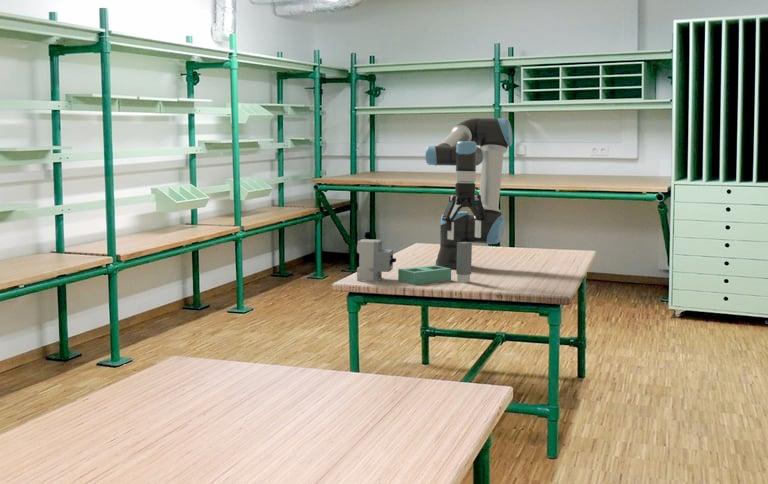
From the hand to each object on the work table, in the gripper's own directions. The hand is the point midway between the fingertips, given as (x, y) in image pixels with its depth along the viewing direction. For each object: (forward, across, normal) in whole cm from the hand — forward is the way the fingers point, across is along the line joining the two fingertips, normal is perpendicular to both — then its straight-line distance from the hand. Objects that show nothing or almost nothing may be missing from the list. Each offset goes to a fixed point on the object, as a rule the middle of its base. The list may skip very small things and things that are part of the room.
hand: (464, 238), depth 326 cm
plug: (+17, 0, 0) cm, 17 cm away
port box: (+17, +11, -10) cm, 22 cm away
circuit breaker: (+17, +25, -22) cm, 37 cm away
